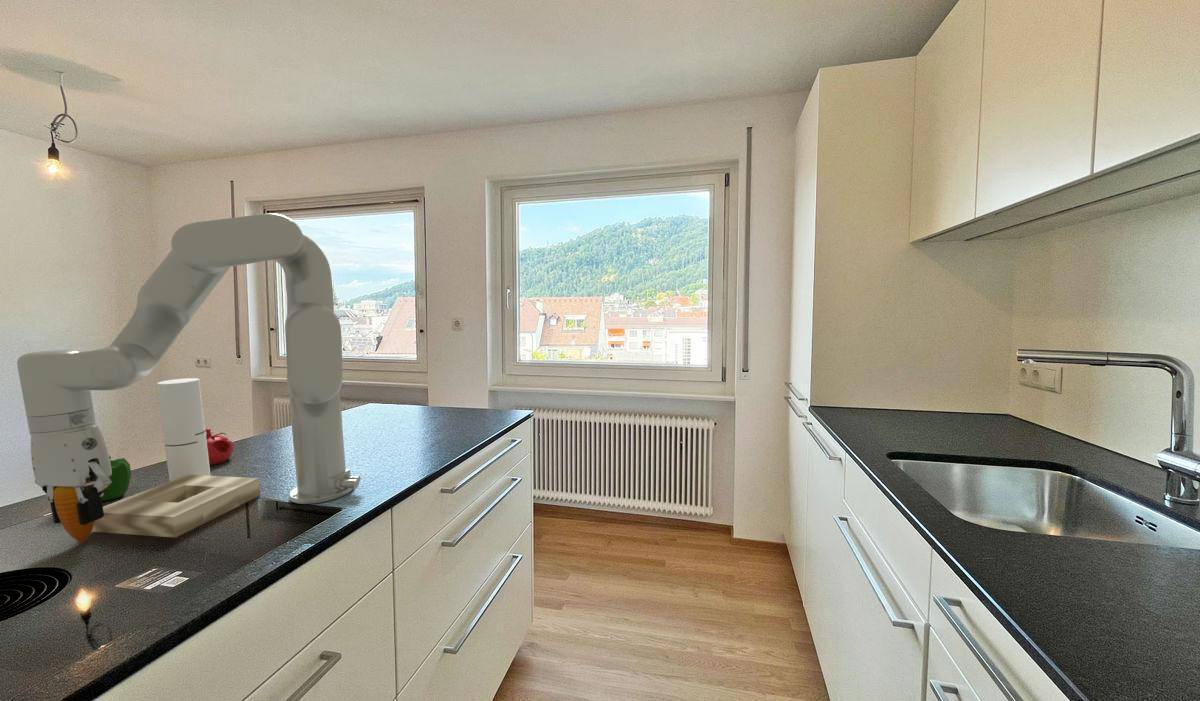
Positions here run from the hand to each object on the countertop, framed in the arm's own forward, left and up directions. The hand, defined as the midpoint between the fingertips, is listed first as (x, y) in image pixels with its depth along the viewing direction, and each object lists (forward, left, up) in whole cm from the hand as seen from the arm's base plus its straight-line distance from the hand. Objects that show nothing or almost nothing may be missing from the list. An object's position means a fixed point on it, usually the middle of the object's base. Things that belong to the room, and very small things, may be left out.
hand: (79, 519), depth 81 cm
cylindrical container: (+6, -25, -5) cm, 26 cm away
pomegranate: (+16, -39, -5) cm, 42 cm away
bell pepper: (+18, -17, -5) cm, 25 cm away
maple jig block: (-6, -13, -5) cm, 15 cm away
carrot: (0, 0, -5) cm, 5 cm away
